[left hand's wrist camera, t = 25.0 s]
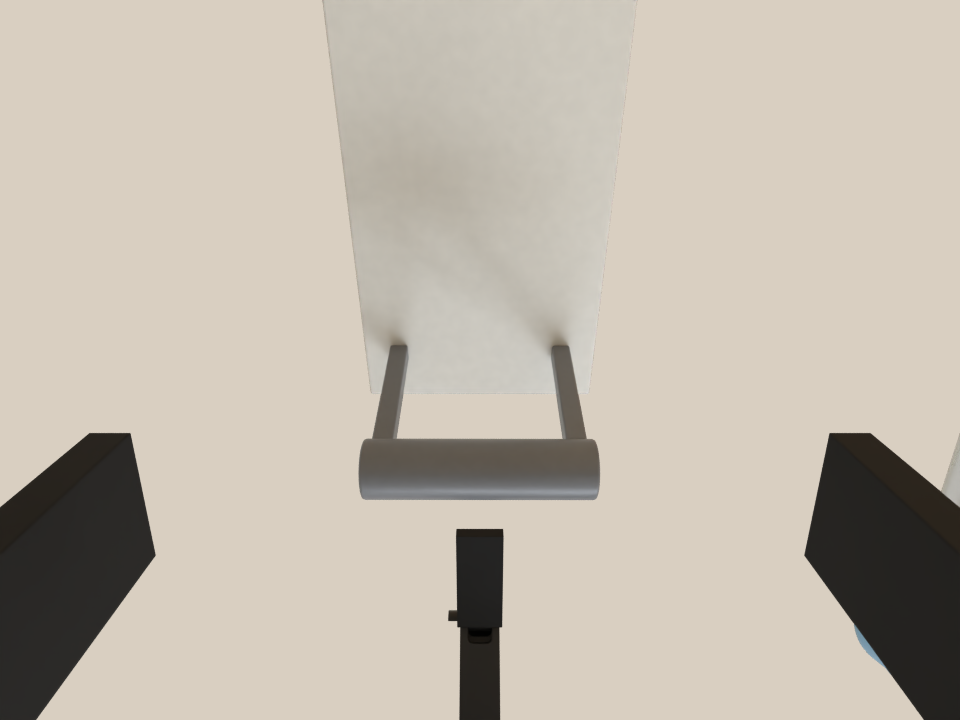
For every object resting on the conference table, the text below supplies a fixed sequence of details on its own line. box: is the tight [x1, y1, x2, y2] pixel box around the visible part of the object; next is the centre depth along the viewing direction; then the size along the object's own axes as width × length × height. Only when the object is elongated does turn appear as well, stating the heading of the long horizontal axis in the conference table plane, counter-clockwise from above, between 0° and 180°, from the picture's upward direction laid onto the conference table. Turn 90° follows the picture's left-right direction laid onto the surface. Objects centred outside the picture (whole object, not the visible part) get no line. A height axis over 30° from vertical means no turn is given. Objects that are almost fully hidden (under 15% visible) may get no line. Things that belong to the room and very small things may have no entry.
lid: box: [323, 0, 637, 500], centre depth 21 cm, size 15×9×8 cm
